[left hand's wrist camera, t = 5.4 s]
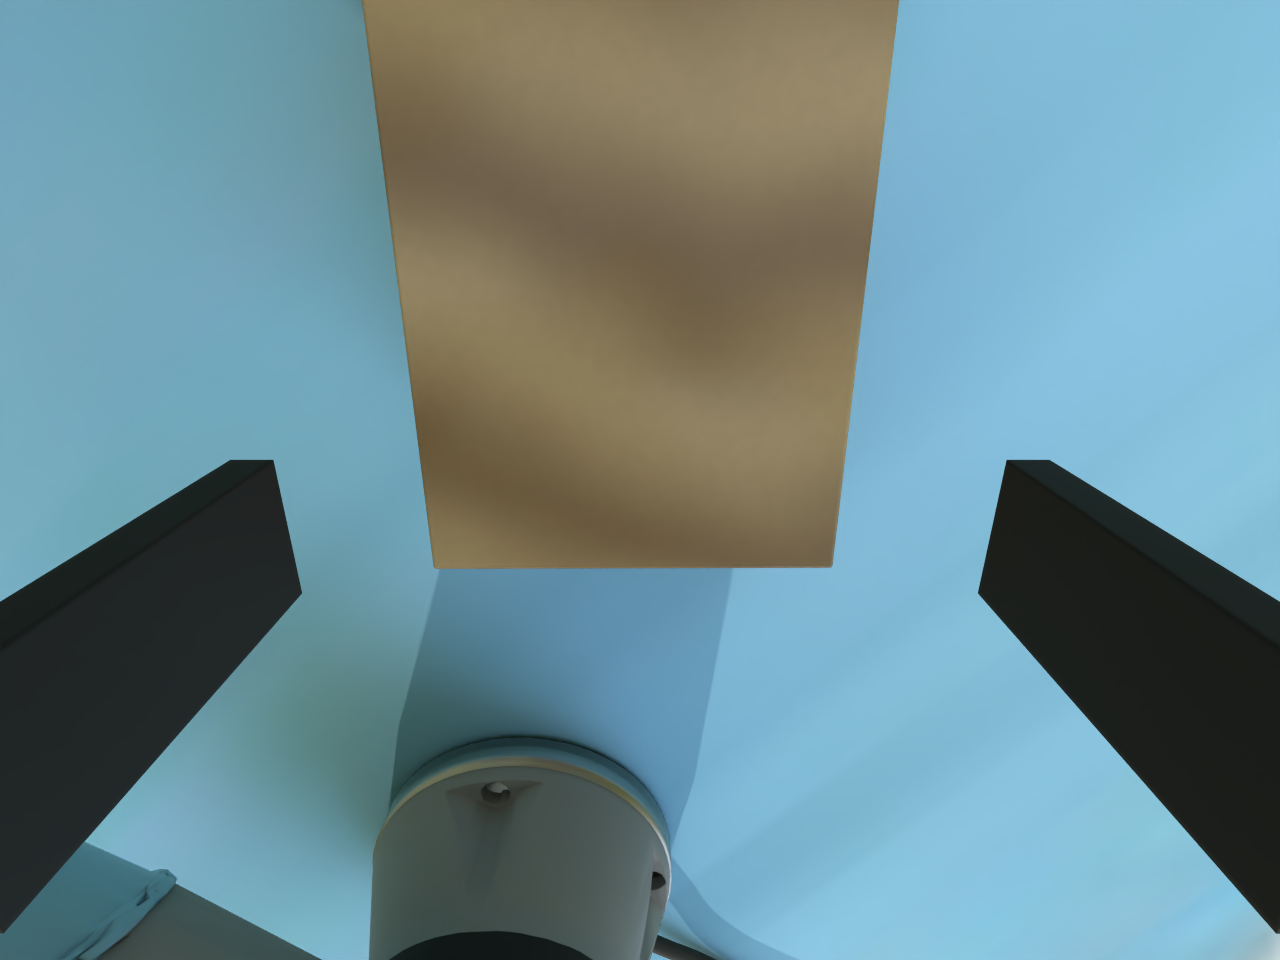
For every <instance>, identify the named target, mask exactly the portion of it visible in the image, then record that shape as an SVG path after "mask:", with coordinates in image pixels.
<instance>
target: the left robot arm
mask: <svg viewBox="0 0 1280 960" xmlns="http://www.w3.org/2000/svg"><path fill="white" fill-rule="evenodd" d="M301 594H302V591H301V586H300V582H299V577H298V572H297V568H296V563H295V558H294V554H293V549H292V544H291V540H290V535H289V531H288V526H287V521H286V517H285V512H284V507H283V503H282V498H281V493H280V489H279V484H278V480H277V475H276V470H275V466H274V461H273V460H230V461H228V462H226V463H225V464H223V465H222V466H220V467H218V468H217V469H215V470H213V471H212V472H210V473H209V474H207V475H205V476H204V477H202V478H200V479H199V480H197V481H196V482H194V483H192V484H191V485H189V486H187V487H186V488H184V489H183V490H181V491H179V492H178V493H176V494H174V495H173V496H171V497H170V498H168V499H166V500H165V501H163V502H161V503H160V504H158V505H157V506H155V507H153V508H152V509H150V510H148V511H147V512H145V513H144V514H142V515H140V516H139V517H137V518H135V519H134V520H132V521H131V522H129V523H127V524H126V525H124V526H122V527H121V528H119V529H118V530H116V531H114V532H113V533H111V534H109V535H108V536H106V537H105V538H103V539H101V540H100V541H98V542H96V543H95V544H93V545H92V546H90V547H88V548H87V549H85V550H83V551H82V552H80V553H79V554H77V555H75V556H74V557H72V558H70V559H69V560H67V561H66V562H64V563H62V564H61V565H59V566H58V567H56V568H54V569H53V570H51V571H49V572H48V573H46V574H45V575H43V576H41V577H40V578H38V579H36V580H35V581H33V582H32V583H30V584H28V585H27V586H25V587H23V588H22V589H20V590H19V591H17V592H15V593H14V594H12V595H10V596H9V597H7V598H6V599H4V600H2V601H1V602H0V960H321V959H319V958H317V957H315V956H313V955H312V954H310V953H308V952H306V951H304V950H302V949H300V948H298V947H296V946H294V945H292V944H290V943H289V942H287V941H285V940H283V939H281V938H279V937H277V936H275V935H273V934H271V933H269V932H267V931H266V930H264V929H262V928H260V927H258V926H256V925H254V924H252V923H250V922H248V921H246V920H244V919H243V918H241V917H239V916H237V915H235V914H233V913H231V912H229V911H227V910H225V909H223V908H221V907H220V906H218V905H216V904H214V903H212V902H210V901H208V900H206V899H204V898H202V897H200V896H198V895H196V894H195V893H193V892H191V891H189V890H187V889H185V888H183V887H181V886H179V885H177V884H175V882H176V880H177V878H176V877H175V876H174V875H173V874H172V873H171V872H169V871H168V870H166V869H158V870H155V871H149V870H147V869H145V868H142V867H140V866H138V865H136V864H133V863H131V862H129V861H127V860H124V859H122V858H120V857H118V856H115V855H113V854H111V853H109V852H106V851H104V850H102V849H99V848H97V847H95V846H93V845H90V844H88V843H86V842H84V841H85V840H86V839H87V838H88V837H89V836H90V835H91V833H92V832H93V831H94V830H95V829H96V828H97V827H98V825H99V824H100V823H101V822H102V821H103V820H104V819H105V817H106V816H107V815H108V814H109V813H110V812H111V811H112V809H113V808H114V807H115V806H116V805H117V804H118V803H119V801H120V800H121V799H122V798H123V797H124V796H125V795H126V793H127V792H128V791H129V790H130V789H131V788H132V787H133V785H134V784H135V783H136V782H137V781H138V780H139V779H140V777H141V776H142V775H143V774H144V773H145V772H146V771H147V770H148V768H149V767H150V766H151V765H152V764H153V763H154V762H155V760H156V759H157V758H158V757H159V756H160V755H161V754H162V752H163V751H164V750H165V749H166V748H167V747H168V746H169V744H170V743H171V742H172V741H173V740H174V739H175V738H176V736H177V735H178V734H179V733H180V732H181V731H182V730H183V728H184V727H185V726H186V725H187V724H188V723H189V722H190V720H191V719H192V718H193V717H194V716H195V715H196V714H197V712H198V711H199V710H200V709H201V708H202V707H203V706H204V704H205V703H206V702H207V701H208V700H209V699H210V698H211V697H212V695H213V694H214V693H215V692H216V691H217V690H218V689H219V687H220V686H221V685H222V684H223V683H224V682H225V681H226V679H227V678H228V677H229V676H230V675H231V674H232V673H233V671H234V670H235V669H236V668H237V667H238V666H239V665H240V663H241V662H242V661H243V660H244V659H245V658H246V657H247V655H248V654H249V653H250V652H251V651H252V650H253V649H254V647H255V646H256V645H257V644H258V643H259V642H260V641H261V639H262V638H263V637H264V636H265V635H266V634H267V633H268V632H269V630H270V629H271V628H272V627H273V626H274V625H275V624H276V622H277V621H278V620H279V619H280V618H281V617H282V616H283V614H284V613H285V612H286V611H287V610H288V609H289V608H290V606H291V605H292V604H293V603H294V602H295V601H296V600H297V598H298V597H299V596H300V595H301ZM978 594H979V595H980V596H981V597H982V598H983V600H984V601H985V602H986V603H987V604H988V605H989V606H990V608H991V609H992V610H993V611H994V612H995V613H996V614H997V616H998V617H999V618H1000V619H1001V620H1002V621H1003V622H1004V624H1005V625H1006V626H1007V627H1008V628H1009V629H1010V630H1011V632H1012V633H1013V634H1014V635H1015V636H1016V637H1017V638H1018V639H1019V641H1020V642H1021V643H1022V644H1023V645H1024V646H1025V647H1026V649H1027V650H1028V651H1029V652H1030V653H1031V654H1032V655H1033V657H1034V658H1035V659H1036V660H1037V661H1038V662H1039V663H1040V665H1041V666H1042V667H1043V668H1044V669H1045V670H1046V671H1047V673H1048V674H1049V675H1050V676H1051V677H1052V678H1053V679H1054V681H1055V682H1056V683H1057V684H1058V685H1059V686H1060V687H1061V689H1062V690H1063V691H1064V692H1065V693H1066V694H1067V695H1068V697H1069V698H1070V699H1071V700H1072V701H1073V702H1074V703H1075V704H1076V706H1077V707H1078V708H1079V709H1080V710H1081V711H1082V712H1083V714H1084V715H1085V716H1086V717H1087V718H1088V719H1089V720H1090V722H1091V723H1092V724H1093V725H1094V726H1095V727H1096V728H1097V730H1098V731H1099V732H1100V733H1101V734H1102V735H1103V736H1104V738H1105V739H1106V740H1107V741H1108V742H1109V743H1110V744H1111V746H1112V747H1113V748H1114V749H1115V750H1116V751H1117V752H1118V754H1119V755H1120V756H1121V757H1122V758H1123V759H1124V760H1125V762H1126V763H1127V764H1128V765H1129V766H1130V767H1131V768H1132V770H1133V771H1134V772H1135V773H1136V774H1137V775H1138V776H1139V777H1140V779H1141V780H1142V781H1143V782H1144V783H1145V784H1146V785H1147V787H1148V788H1149V789H1150V790H1151V791H1152V792H1153V793H1154V795H1155V796H1156V797H1157V798H1158V799H1159V800H1160V801H1161V803H1162V804H1163V805H1164V806H1165V807H1166V808H1167V809H1168V811H1169V812H1170V813H1171V814H1172V815H1173V816H1174V817H1175V819H1176V820H1177V821H1178V822H1179V823H1180V824H1181V825H1182V827H1183V828H1184V829H1185V830H1186V831H1187V832H1188V833H1189V835H1190V836H1191V837H1192V838H1193V839H1194V840H1195V841H1196V843H1197V844H1198V845H1199V846H1200V847H1201V848H1202V849H1203V850H1204V852H1205V853H1206V854H1207V855H1208V856H1209V857H1210V858H1211V860H1212V861H1213V862H1214V863H1215V864H1216V865H1217V866H1218V868H1219V869H1220V870H1221V871H1222V872H1223V873H1224V874H1225V876H1226V877H1227V878H1228V879H1229V880H1230V881H1231V882H1232V884H1233V885H1234V886H1235V887H1236V888H1237V889H1238V890H1239V892H1240V893H1241V894H1242V895H1243V896H1244V897H1245V898H1246V900H1247V901H1248V902H1249V903H1250V904H1251V905H1252V906H1253V908H1254V909H1255V910H1256V911H1257V912H1258V913H1259V914H1260V916H1261V917H1262V918H1263V919H1264V920H1265V921H1266V922H1267V923H1268V925H1269V926H1270V927H1271V928H1272V929H1273V930H1274V931H1275V933H1276V934H1280V602H1279V601H1278V600H1276V599H1274V598H1273V597H1271V596H1270V595H1268V594H1266V593H1265V592H1263V591H1261V590H1260V589H1258V588H1257V587H1255V586H1253V585H1252V584H1250V583H1248V582H1247V581H1245V580H1244V579H1242V578H1240V577H1239V576H1237V575H1235V574H1234V573H1232V572H1231V571H1229V570H1227V569H1226V568H1224V567H1222V566H1221V565H1219V564H1218V563H1216V562H1214V561H1213V560H1211V559H1210V558H1208V557H1206V556H1205V555H1203V554H1201V553H1200V552H1198V551H1197V550H1195V549H1193V548H1192V547H1190V546H1188V545H1187V544H1185V543H1184V542H1182V541H1180V540H1179V539H1177V538H1175V537H1174V536H1172V535H1171V534H1169V533H1167V532H1166V531H1164V530H1162V529H1161V528H1159V527H1158V526H1156V525H1154V524H1153V523H1151V522H1149V521H1148V520H1146V519H1145V518H1143V517H1141V516H1140V515H1138V514H1136V513H1135V512H1133V511H1132V510H1130V509H1128V508H1127V507H1125V506H1123V505H1122V504H1120V503H1119V502H1117V501H1115V500H1114V499H1112V498H1110V497H1109V496H1107V495H1106V494H1104V493H1102V492H1101V491H1099V490H1097V489H1096V488H1094V487H1093V486H1091V485H1089V484H1088V483H1086V482H1084V481H1083V480H1081V479H1080V478H1078V477H1076V476H1075V475H1073V474H1071V473H1070V472H1068V471H1067V470H1065V469H1063V468H1062V467H1060V466H1058V465H1057V464H1055V463H1054V462H1052V461H1050V460H1007V461H1006V466H1005V470H1004V475H1003V479H1002V484H1001V489H1000V493H999V498H998V503H997V507H996V512H995V517H994V521H993V526H992V531H991V535H990V540H989V544H988V549H987V554H986V558H985V563H984V568H983V572H982V577H981V582H980V586H979V591H978ZM671 879H672V874H671V856H670V839H669V833H668V828H667V824H666V821H665V819H664V816H663V814H662V812H661V810H660V808H659V806H658V804H657V803H656V801H655V800H654V798H653V797H652V795H651V794H650V793H649V792H648V790H647V789H646V788H645V787H644V786H643V785H642V784H641V783H640V782H639V781H638V780H637V779H636V778H635V777H634V776H632V775H631V774H630V773H629V772H627V771H626V770H625V769H623V768H622V767H620V766H619V765H617V764H616V763H614V762H612V761H611V760H609V759H607V758H605V757H603V756H601V755H599V754H597V753H594V752H592V751H590V750H587V749H584V748H581V747H578V746H575V745H571V744H567V743H564V742H559V741H553V740H548V739H539V738H519V737H515V738H500V739H492V740H486V741H481V742H477V743H472V744H469V745H466V746H462V747H459V748H457V749H454V750H452V751H449V752H447V753H445V754H443V755H441V756H439V757H437V758H435V759H434V760H432V761H431V762H429V763H428V764H426V765H424V766H423V767H422V768H421V769H419V770H418V771H417V772H416V773H415V774H413V775H412V777H411V778H410V779H409V780H408V781H407V782H406V783H405V784H404V785H403V787H402V788H401V789H400V791H399V792H398V794H397V795H396V797H395V799H394V800H393V803H392V805H391V807H390V810H389V812H388V815H387V817H386V819H385V822H384V824H383V827H382V829H381V832H380V834H379V836H378V839H377V842H376V845H375V849H374V855H373V878H372V899H371V923H370V947H369V960H650V958H651V955H652V952H653V953H656V954H658V955H661V956H663V957H665V958H668V959H671V960H716V959H714V958H712V957H709V956H707V955H705V954H703V953H701V952H699V951H696V950H694V949H692V948H689V947H687V946H684V945H681V944H679V943H676V942H673V941H671V940H669V939H666V938H664V937H661V936H659V935H658V931H659V928H660V925H661V921H662V918H663V914H664V911H665V907H666V904H667V901H668V899H669V894H670V890H671Z"/></svg>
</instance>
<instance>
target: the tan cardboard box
mask: <svg viewBox="0 0 1280 960" xmlns="http://www.w3.org/2000/svg"><path fill="white" fill-rule="evenodd" d="M362 4H363V12H364V20H365V28H366V36H367V44H368V52H369V59H370V67H371V75H372V83H373V91H374V99H375V107H376V115H377V123H378V131H379V138H380V146H381V154H382V162H383V170H384V178H385V186H386V194H387V202H388V210H389V217H390V225H391V233H392V241H393V249H394V257H395V265H396V273H397V281H398V289H399V296H400V304H401V312H402V320H403V328H404V336H405V344H406V352H407V360H408V368H409V375H410V383H411V391H412V399H413V407H414V415H415V423H416V431H417V439H418V446H419V454H420V462H421V470H422V478H423V486H424V494H425V502H426V510H427V518H428V525H429V533H430V541H431V549H432V557H433V565H434V568H436V569H496V568H830V567H832V564H833V556H834V548H835V539H836V531H837V522H838V514H839V505H840V497H841V488H842V480H843V471H844V463H845V454H846V446H847V437H848V429H849V420H850V412H851V404H852V395H853V387H854V378H855V370H856V361H857V353H858V344H859V336H860V327H861V319H862V310H863V302H864V293H865V285H866V276H867V268H868V260H869V251H870V243H871V234H872V226H873V217H874V209H875V200H876V192H877V183H878V175H879V166H880V158H881V149H882V141H883V132H884V124H885V116H886V107H887V99H888V90H889V82H890V73H891V65H892V56H893V48H894V39H895V31H896V22H897V14H898V5H899V0H362Z"/></svg>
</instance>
